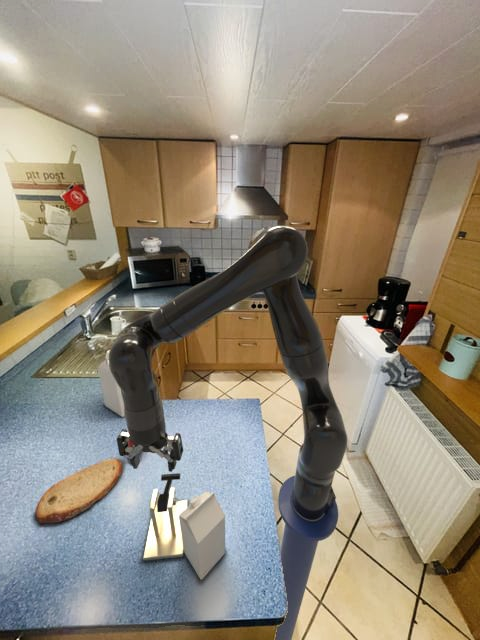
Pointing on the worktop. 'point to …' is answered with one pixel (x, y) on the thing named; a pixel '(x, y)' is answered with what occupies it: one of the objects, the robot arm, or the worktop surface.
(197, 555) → the milk carton
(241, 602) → the worktop surface
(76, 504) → the slice of bread
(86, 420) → the worktop surface
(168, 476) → the switch lever
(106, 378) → the milk
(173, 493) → the switch bracket
